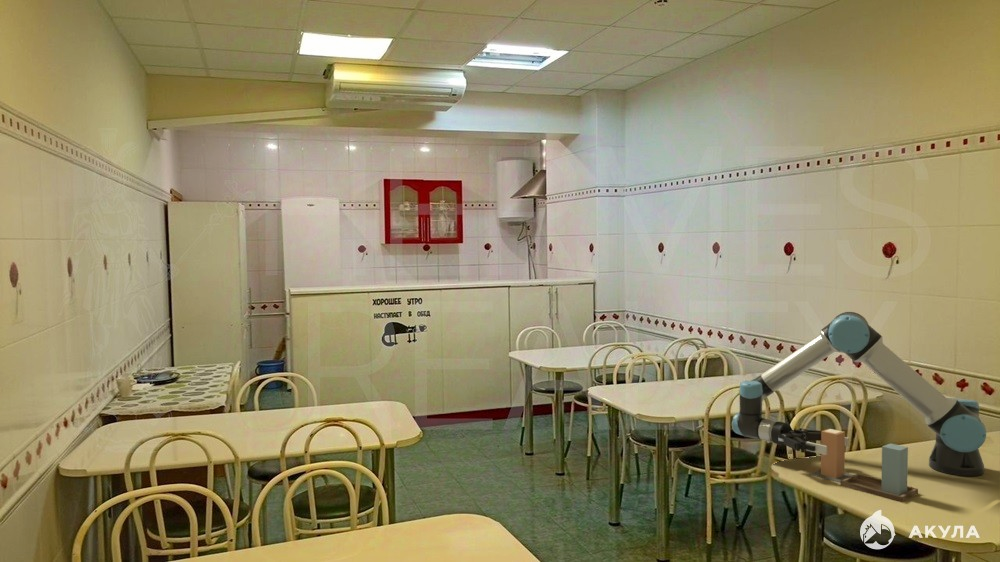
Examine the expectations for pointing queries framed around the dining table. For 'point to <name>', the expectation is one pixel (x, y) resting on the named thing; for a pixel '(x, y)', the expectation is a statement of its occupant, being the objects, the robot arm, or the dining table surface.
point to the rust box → (833, 453)
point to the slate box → (894, 469)
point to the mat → (818, 474)
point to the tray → (874, 487)
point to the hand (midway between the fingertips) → (837, 446)
